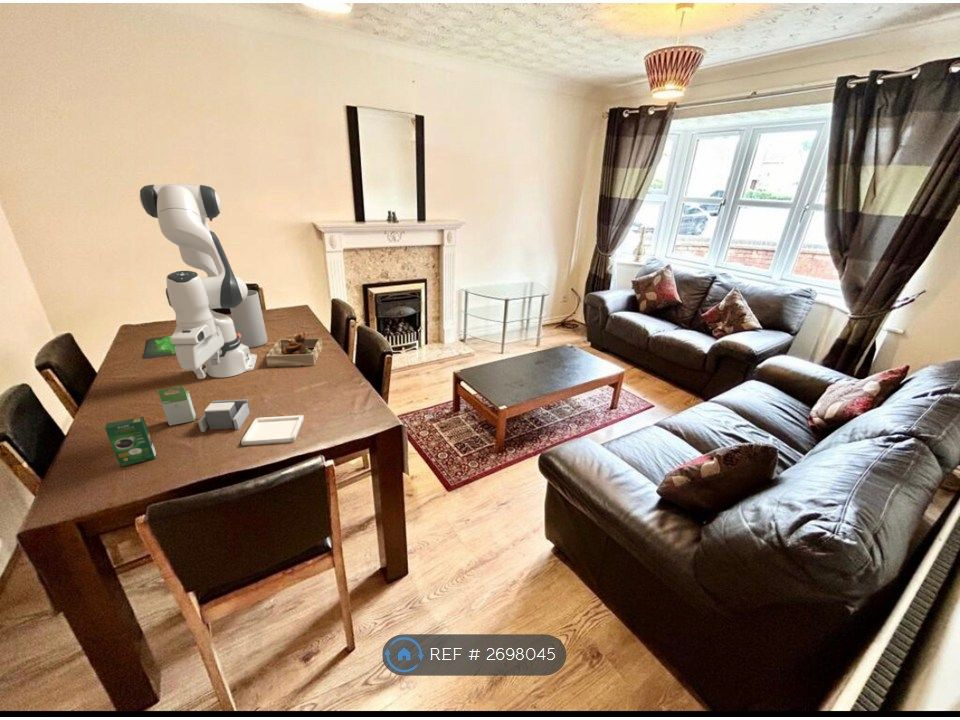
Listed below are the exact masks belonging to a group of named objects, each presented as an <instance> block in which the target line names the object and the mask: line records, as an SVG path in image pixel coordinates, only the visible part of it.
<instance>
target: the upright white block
mask: <svg viewBox="0 0 960 720" xmlns="http://www.w3.org/2000/svg"><path fill="white" fill-rule="evenodd" d="M204 414H205V415H206V418H207V422H208V425H209V427H208V429H209V430H220V429H221V430H223V429H235V426H234V422H233V418H234V417H235V415H236V414H237V411H236V407H235V403H234V402H228V403H211V402H210V404H209V405H208V406H207V407H206V408H205V409H204Z"/></svg>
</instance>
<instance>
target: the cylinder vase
mask: <svg viewBox="0 0 960 720" xmlns="http://www.w3.org/2000/svg"><path fill="white" fill-rule="evenodd" d="M229 310H230V314H231V319H232V320H233V323H234V327H235V332H236V334H241V338H239V340H240V342H241V343H242V344H244V345H246V346H248V347H249V349H250V348H254V349H255V348H259V347H261V346H265V344H267V343H268V342H269V341H268V339H269V338H268V335H267V329H266V326H265V325H266V324H265V320H264V315H263V310H262V306H261V301H260V295H259V292H258V291H257V290H252V289H248V294H247V297H246V299H245V300H244V301H242V302H241V303H240V304H239V305H238V306H237V307H235V308H229Z"/></svg>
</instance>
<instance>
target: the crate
mask: <svg viewBox="0 0 960 720" xmlns="http://www.w3.org/2000/svg"><path fill="white" fill-rule="evenodd" d="M292 339H293V338H279V339H278V340H277V341H276V342H275V344H274V345H273V346H272V347H271V348H270V350H269V351H268V353H266V356H265V361H266V365H267V368H268V367H269V368H273V367H274V368H275V366H278V367H297V366H298V367H300V366H301V365H303V366H315V365H316V362H317V361H316V360H318V359H317V358H319V357H318V356H320V355H321V352H322V350H323V348H324V347H323V340H322V337H311V338H308V337H307V338H306V337H305V340H304V341H305V347H306V348H314V349H312V353H311V354H293V355H279V353H280V354H281V351H282V349H283V348H285V347H286V345H289V342H288V340H292ZM322 347H323V348H322ZM321 349H322V350H321ZM301 367H302V366H301Z"/></svg>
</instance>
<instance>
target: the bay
mask: <svg viewBox="0 0 960 720" xmlns="http://www.w3.org/2000/svg"><path fill="white" fill-rule="evenodd" d="M228 402H234V403H235V407H236V411H237V414H236V415H235V417H234V418H233V422H234V426H235V427H234V430H237V431H238V430H240V429H241V428H242V426H243V424H244V423H245V421H246V420H247V418H248V417H249V415H250V413H251V407H250V403H249V399H248V398H244V399H241V398H240V399H224V400H223V399H221V400H212V401H211V402H210V403H228ZM197 423H198V427H199V430H200V433H204V432H206V431H207V430H208V429H209V425H208V422H207V418H206V415H205V413H203V415H202V416H201V417H200V418H199V419H198V420H197Z"/></svg>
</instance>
